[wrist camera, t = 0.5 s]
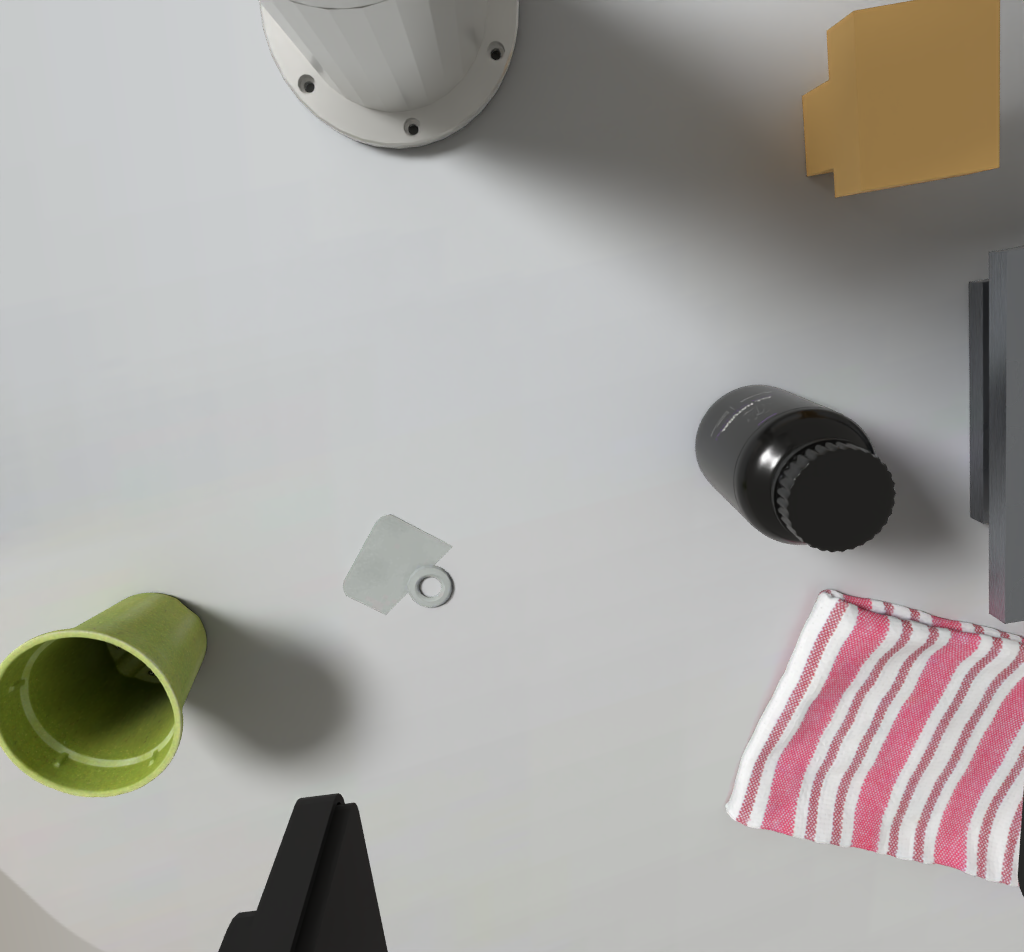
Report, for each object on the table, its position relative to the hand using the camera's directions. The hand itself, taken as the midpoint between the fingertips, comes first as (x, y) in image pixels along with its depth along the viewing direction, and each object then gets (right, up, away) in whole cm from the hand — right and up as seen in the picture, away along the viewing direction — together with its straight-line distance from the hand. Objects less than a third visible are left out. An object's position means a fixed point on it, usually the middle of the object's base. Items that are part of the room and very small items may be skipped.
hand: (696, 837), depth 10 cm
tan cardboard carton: (+15, +23, +29) cm, 40 cm away
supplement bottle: (+11, +7, +33) cm, 36 cm away
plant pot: (-24, -5, +35) cm, 43 cm away
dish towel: (+25, -12, +39) cm, 48 cm away
